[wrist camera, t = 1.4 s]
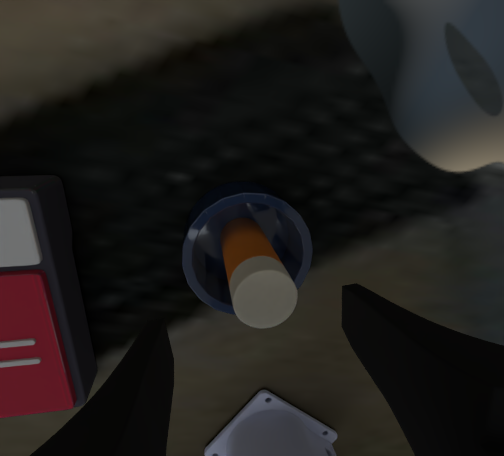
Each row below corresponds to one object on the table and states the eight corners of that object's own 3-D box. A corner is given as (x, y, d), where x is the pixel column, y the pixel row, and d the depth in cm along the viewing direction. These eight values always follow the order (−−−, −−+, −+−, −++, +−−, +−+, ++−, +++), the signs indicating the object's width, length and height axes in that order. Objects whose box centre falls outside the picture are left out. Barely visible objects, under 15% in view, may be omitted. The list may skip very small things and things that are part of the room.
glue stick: (271, 234, 23) (311, 293, 15) (244, 266, 23) (268, 339, 15) (239, 208, 22) (263, 257, 14) (211, 242, 23) (218, 307, 15)
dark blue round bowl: (315, 227, 24) (337, 246, 20) (246, 304, 25) (255, 336, 21) (233, 156, 22) (242, 164, 18) (161, 245, 23) (154, 269, 19)
